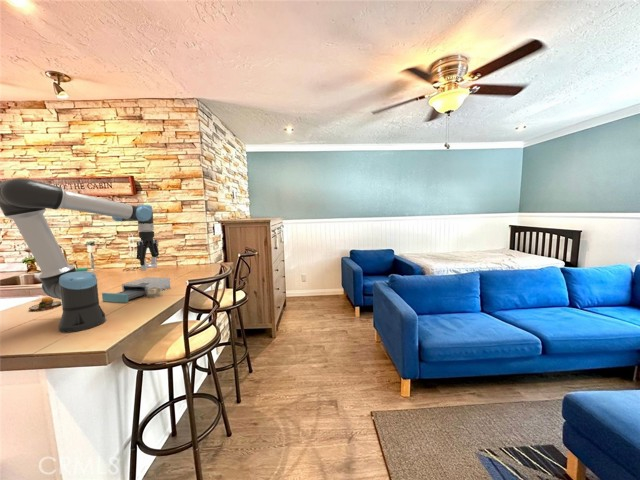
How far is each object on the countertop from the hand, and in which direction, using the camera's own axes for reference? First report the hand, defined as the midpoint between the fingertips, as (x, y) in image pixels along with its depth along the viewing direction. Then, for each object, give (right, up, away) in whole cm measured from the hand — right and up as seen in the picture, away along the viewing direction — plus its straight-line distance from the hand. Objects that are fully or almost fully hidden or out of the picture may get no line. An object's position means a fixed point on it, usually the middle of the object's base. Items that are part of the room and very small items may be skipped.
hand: (149, 268), depth 147 cm
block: (+2, -17, +2) cm, 17 cm away
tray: (-13, -17, 0) cm, 21 cm away
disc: (0, +1, 0) cm, 1 cm away
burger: (-46, -20, -14) cm, 52 cm away
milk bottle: (-32, -19, -7) cm, 37 cm away
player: (-10, -16, +13) cm, 23 cm away
